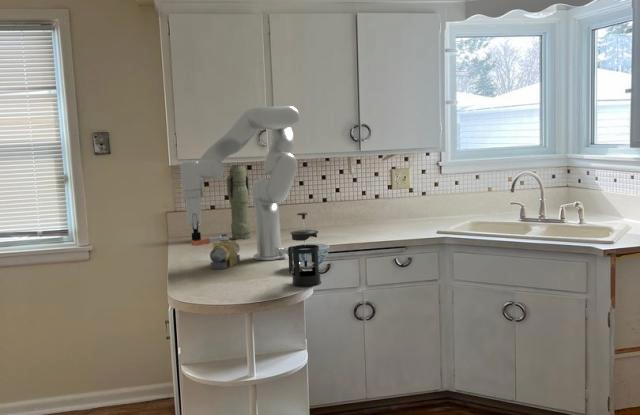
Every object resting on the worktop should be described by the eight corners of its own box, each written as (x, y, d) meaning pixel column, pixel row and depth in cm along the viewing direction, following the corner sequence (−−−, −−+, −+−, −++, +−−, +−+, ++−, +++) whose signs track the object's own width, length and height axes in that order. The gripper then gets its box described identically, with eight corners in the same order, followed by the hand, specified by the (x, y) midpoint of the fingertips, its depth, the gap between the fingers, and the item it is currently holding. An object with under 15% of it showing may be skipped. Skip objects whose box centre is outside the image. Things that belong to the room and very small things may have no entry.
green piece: (225, 239, 307) (221, 166, 304) (244, 235, 316) (239, 164, 312) (238, 240, 302) (233, 166, 298) (256, 237, 311) (252, 164, 307)
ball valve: (242, 260, 251) (240, 238, 250) (225, 269, 236) (223, 245, 235) (226, 260, 253) (225, 238, 252) (208, 269, 238) (207, 245, 237)
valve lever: (225, 239, 246) (225, 233, 246) (231, 240, 243) (230, 234, 243) (191, 245, 235) (190, 238, 235) (196, 246, 233) (196, 239, 233)
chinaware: (294, 274, 223) (293, 252, 222) (284, 266, 237) (283, 245, 236) (335, 269, 227) (334, 248, 226) (323, 262, 241) (322, 242, 240)
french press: (328, 282, 208) (325, 211, 205) (310, 288, 200) (307, 215, 198) (300, 278, 215) (297, 210, 212) (282, 284, 207) (278, 213, 205)
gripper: (183, 193, 243) (187, 241, 245) (182, 196, 229) (185, 247, 231) (203, 192, 245) (206, 239, 247) (203, 195, 230) (207, 246, 232)
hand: (196, 243), depth 239 cm, fingers closed
